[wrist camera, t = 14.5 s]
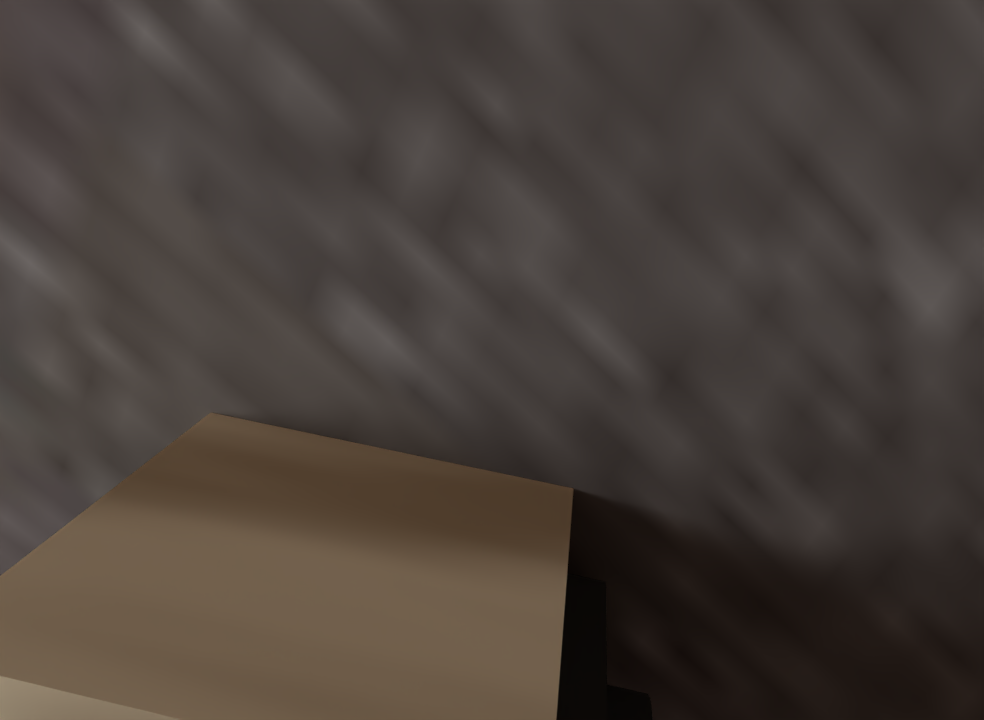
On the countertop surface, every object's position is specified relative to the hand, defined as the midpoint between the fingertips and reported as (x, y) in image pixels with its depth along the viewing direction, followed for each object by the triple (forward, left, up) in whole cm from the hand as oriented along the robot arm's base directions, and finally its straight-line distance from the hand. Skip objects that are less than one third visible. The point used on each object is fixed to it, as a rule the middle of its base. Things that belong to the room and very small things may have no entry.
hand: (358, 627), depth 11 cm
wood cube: (0, 0, -1) cm, 1 cm away
